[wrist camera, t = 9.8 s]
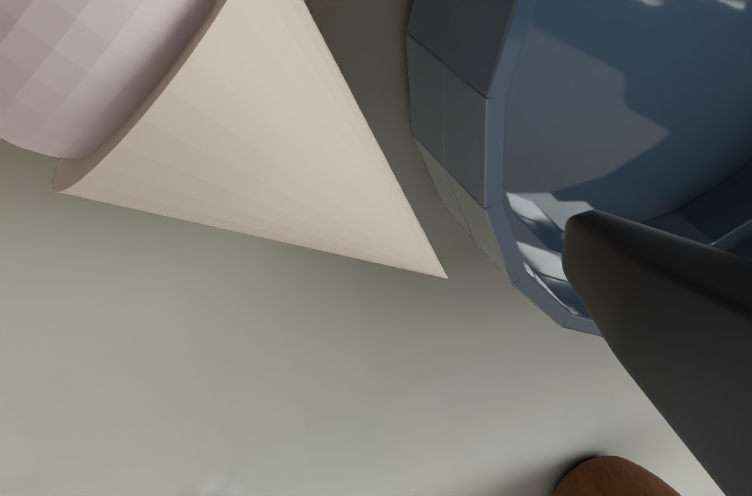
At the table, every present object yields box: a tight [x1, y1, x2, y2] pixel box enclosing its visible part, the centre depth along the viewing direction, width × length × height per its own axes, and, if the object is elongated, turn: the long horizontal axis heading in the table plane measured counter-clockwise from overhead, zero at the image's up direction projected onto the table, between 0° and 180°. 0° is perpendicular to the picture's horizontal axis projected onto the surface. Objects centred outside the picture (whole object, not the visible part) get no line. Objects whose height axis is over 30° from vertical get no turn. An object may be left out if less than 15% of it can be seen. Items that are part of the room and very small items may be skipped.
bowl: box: [406, 0, 752, 337], centre depth 20 cm, size 18×18×4 cm
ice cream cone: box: [0, 0, 448, 279], centre depth 14 cm, size 6×6×15 cm
